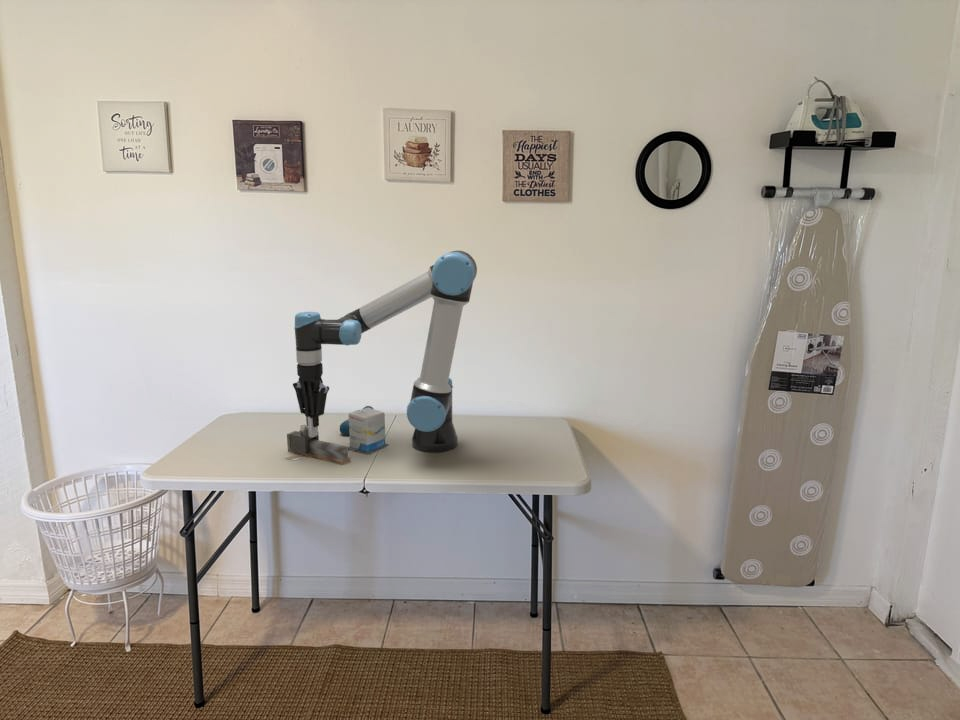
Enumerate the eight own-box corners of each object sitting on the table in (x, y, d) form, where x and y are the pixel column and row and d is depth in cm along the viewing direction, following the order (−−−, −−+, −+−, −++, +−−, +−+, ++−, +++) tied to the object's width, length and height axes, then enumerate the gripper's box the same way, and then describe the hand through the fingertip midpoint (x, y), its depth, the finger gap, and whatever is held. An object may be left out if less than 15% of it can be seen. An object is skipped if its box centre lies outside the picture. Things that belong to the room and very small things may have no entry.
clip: (319, 448, 196) (318, 424, 194) (305, 454, 191) (304, 430, 189) (305, 444, 199) (303, 421, 197) (291, 450, 194) (290, 427, 192)
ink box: (386, 445, 202) (385, 411, 199) (366, 452, 195) (365, 417, 193) (368, 439, 207) (367, 406, 204) (349, 446, 200) (347, 412, 198)
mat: (388, 444, 203) (388, 444, 203) (370, 454, 195) (370, 453, 194) (364, 439, 208) (364, 438, 208) (345, 449, 199) (345, 448, 199)
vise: (350, 460, 189) (349, 442, 188) (332, 470, 182) (331, 451, 181) (296, 448, 199) (295, 430, 198) (276, 456, 192) (275, 438, 191)
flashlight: (375, 418, 231) (375, 406, 230) (350, 437, 210) (350, 424, 209) (363, 417, 232) (362, 405, 231) (337, 436, 211) (336, 422, 210)
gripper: (334, 362, 187) (337, 435, 192) (302, 358, 193) (306, 429, 198) (317, 367, 181) (321, 443, 186) (284, 362, 187) (289, 436, 192)
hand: (313, 435), depth 192 cm, fingers closed
